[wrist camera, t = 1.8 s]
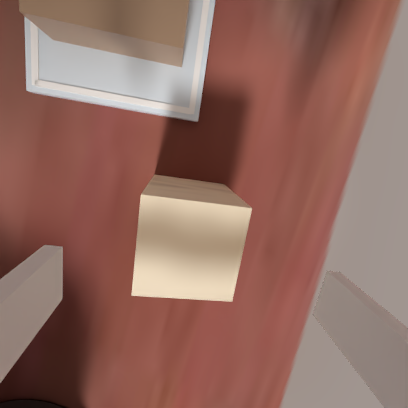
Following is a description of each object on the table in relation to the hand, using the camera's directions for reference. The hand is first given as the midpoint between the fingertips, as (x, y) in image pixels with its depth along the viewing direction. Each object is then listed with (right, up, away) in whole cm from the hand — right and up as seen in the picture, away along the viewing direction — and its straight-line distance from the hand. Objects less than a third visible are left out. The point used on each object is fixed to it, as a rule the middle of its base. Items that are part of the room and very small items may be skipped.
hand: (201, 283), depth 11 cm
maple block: (-2, +3, +12) cm, 13 cm away
